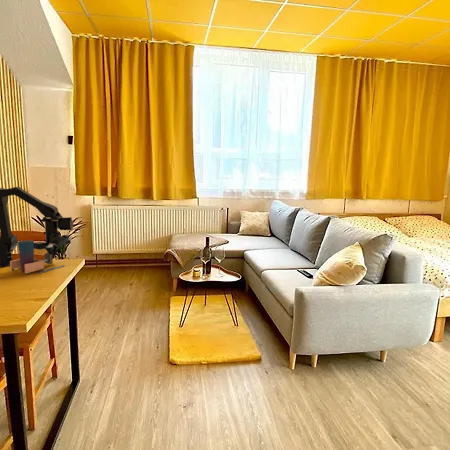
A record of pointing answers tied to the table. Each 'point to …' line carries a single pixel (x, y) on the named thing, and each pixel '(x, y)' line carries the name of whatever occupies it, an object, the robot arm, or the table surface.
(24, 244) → the cup
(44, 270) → the rails
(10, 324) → the table surface
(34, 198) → the robot arm
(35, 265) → the caddy
